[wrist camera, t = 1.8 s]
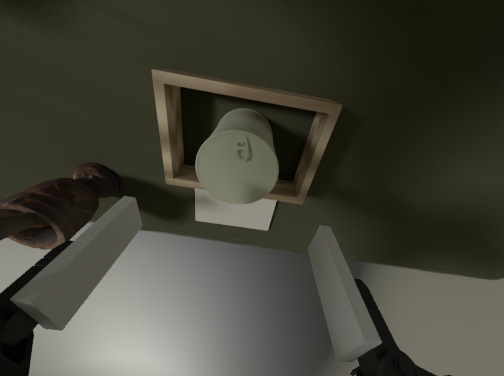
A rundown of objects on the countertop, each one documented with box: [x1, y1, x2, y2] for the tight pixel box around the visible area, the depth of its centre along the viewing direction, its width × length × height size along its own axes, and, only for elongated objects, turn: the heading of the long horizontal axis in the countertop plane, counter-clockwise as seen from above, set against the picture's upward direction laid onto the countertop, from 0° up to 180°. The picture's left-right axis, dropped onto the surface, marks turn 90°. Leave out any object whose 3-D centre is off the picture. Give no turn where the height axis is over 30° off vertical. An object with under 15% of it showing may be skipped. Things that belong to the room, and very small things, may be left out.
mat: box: [195, 188, 277, 231], centre depth 36 cm, size 11×16×1 cm
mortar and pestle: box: [0, 163, 119, 249], centre depth 25 cm, size 12×9×20 cm
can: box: [195, 108, 279, 205], centre depth 24 cm, size 9×9×12 cm
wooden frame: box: [151, 69, 343, 204], centre depth 27 cm, size 15×22×5 cm
